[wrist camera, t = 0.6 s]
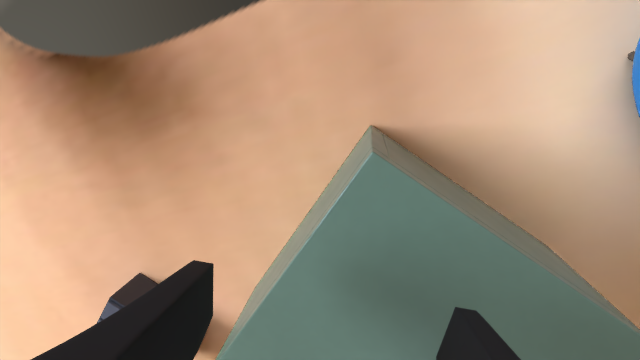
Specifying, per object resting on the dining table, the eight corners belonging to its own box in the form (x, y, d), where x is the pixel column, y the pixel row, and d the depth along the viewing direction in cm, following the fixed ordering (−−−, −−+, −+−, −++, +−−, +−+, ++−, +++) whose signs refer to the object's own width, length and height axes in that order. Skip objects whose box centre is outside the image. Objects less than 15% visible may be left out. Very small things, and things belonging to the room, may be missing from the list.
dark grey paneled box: (184, 344, 25) (157, 383, 22) (122, 305, 25) (85, 338, 22) (204, 314, 24) (178, 350, 21) (139, 272, 24) (103, 302, 20)
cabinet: (403, 383, 23) (419, 519, 16) (255, 287, 23) (202, 382, 15) (548, 246, 19) (658, 347, 12) (370, 124, 18) (372, 150, 11)
